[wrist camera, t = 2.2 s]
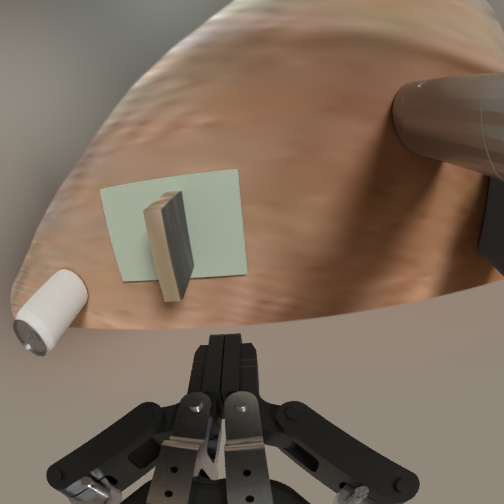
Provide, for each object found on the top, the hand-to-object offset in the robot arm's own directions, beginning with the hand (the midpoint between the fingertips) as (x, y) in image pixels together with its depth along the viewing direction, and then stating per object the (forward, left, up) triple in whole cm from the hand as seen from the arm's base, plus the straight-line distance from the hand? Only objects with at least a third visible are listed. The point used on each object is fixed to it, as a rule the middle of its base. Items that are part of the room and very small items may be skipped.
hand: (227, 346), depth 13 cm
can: (+25, +7, -19) cm, 32 cm away
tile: (+6, 0, -18) cm, 19 cm away
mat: (+7, 0, -19) cm, 20 cm away
